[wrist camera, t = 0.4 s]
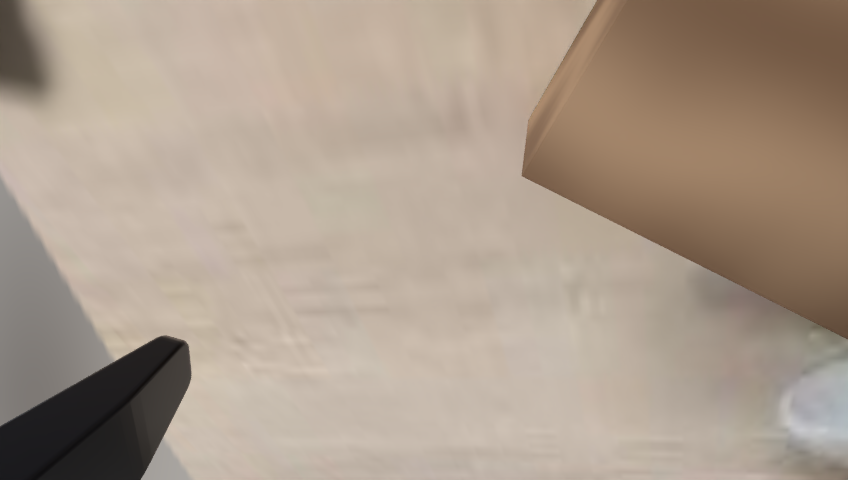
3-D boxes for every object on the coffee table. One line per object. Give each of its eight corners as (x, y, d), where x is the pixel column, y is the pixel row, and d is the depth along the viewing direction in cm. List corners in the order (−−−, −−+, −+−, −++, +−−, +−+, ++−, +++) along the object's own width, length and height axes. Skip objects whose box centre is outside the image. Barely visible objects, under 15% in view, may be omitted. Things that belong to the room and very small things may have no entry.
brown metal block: (817, 266, 22) (880, 355, 18) (528, 120, 21) (521, 176, 17) (1158, -67, 16) (1386, -54, 11) (763, -289, 15) (845, -364, 11)
